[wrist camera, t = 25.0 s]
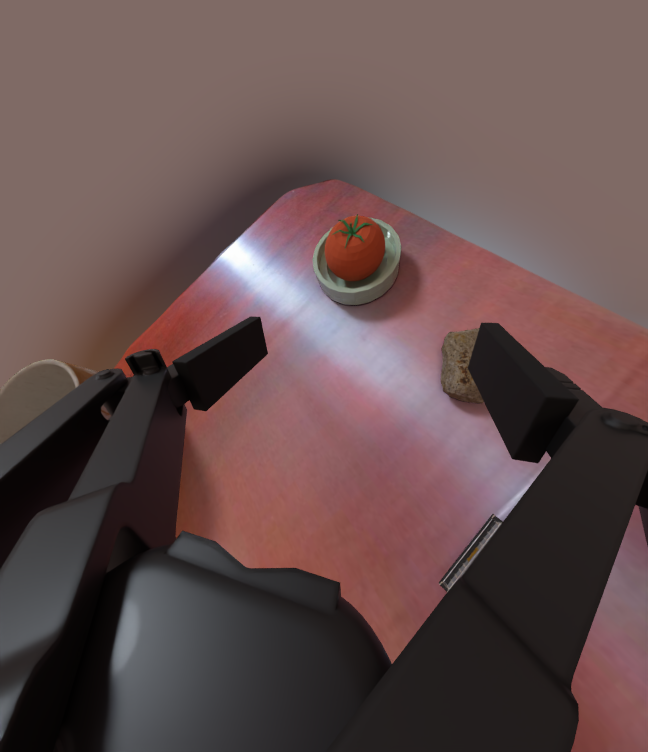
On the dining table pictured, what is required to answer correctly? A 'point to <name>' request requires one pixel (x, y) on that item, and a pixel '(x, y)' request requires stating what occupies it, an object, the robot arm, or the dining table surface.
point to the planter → (37, 392)
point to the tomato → (355, 248)
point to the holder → (367, 287)
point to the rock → (459, 366)
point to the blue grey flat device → (470, 552)
